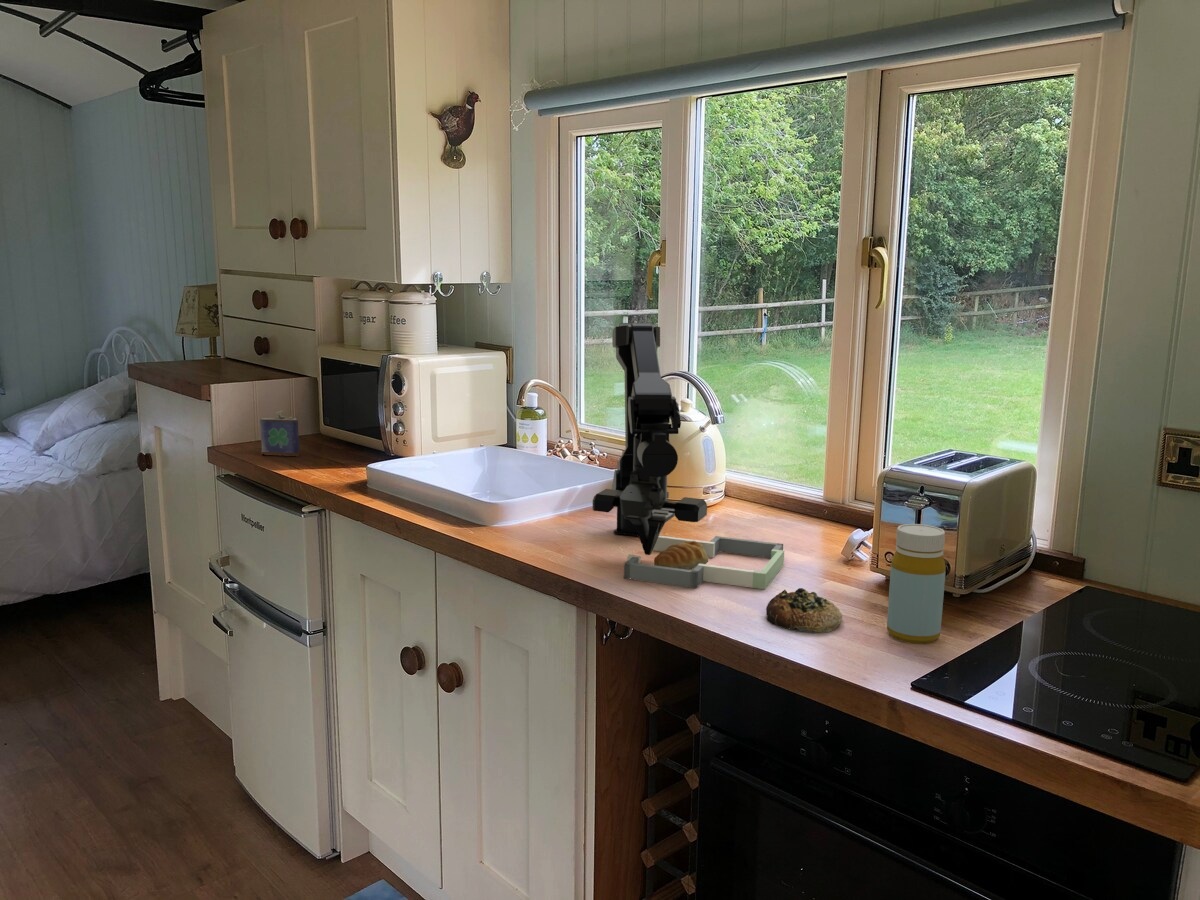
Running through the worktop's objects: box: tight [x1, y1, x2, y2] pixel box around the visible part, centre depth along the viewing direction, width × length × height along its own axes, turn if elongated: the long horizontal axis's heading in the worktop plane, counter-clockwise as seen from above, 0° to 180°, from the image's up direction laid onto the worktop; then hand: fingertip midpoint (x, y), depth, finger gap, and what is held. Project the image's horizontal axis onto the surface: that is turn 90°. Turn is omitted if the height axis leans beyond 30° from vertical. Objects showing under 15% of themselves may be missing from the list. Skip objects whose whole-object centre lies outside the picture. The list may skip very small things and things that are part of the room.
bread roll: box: [765, 587, 843, 634], centre depth 141 cm, size 11×11×5 cm
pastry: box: [653, 541, 709, 570], centre depth 165 cm, size 9×7×4 cm
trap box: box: [623, 535, 785, 590], centre depth 164 cm, size 23×22×2 cm
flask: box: [259, 410, 301, 453], centre depth 253 cm, size 10×3×12 cm, turn 84°
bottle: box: [886, 523, 947, 645], centre depth 134 cm, size 7×7×15 cm
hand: (648, 554), depth 168 cm, fingers closed
